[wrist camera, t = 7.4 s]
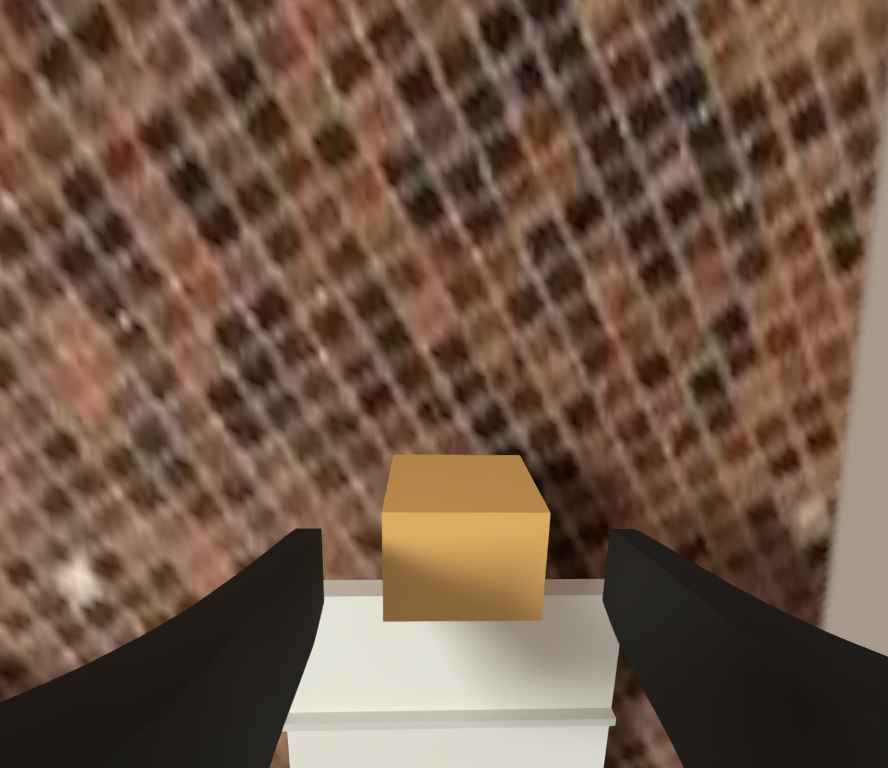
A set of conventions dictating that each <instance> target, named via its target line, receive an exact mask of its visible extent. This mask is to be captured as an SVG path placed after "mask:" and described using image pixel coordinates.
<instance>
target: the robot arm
mask: <svg viewBox="0 0 888 768" xmlns="http://www.w3.org/2000/svg"><path fill="white" fill-rule="evenodd" d="M602 601H603V604H604V607H605V610H606V612H607V615H608V618H609V621H610V623H611V626H612V628H613V631H614V633H615V636H616V638H617V641H618V643H619V645H620V647H621V648H622V650H623V652H624V654H625V656H626V658H627V660H628V662H629V664H630V666H631V668H632V669H633V671H634V673H635V675H636V677H637V679H638V681H639V682H640V684H641V686H642V688H643V690H644V692H645V694H646V695H647V697H648V699H649V701H650V703H651V705H652V707H653V708H654V710H655V712H656V714H657V716H658V718H659V720H660V721H661V723H662V725H663V727H664V729H665V731H666V733H667V734H668V736H669V738H670V740H671V742H672V744H673V746H674V748H675V750H676V752H677V754H678V756H679V758H680V760H681V762H682V765H683V767H684V768H888V657H887V656H885V655H882V654H880V653H877V652H875V651H872V650H869V649H867V648H865V647H862V646H860V645H857V644H855V643H852V642H850V641H847V640H845V639H842V638H840V637H838V636H835V635H833V634H831V633H828V632H826V631H824V630H821V629H819V628H817V627H815V626H813V625H811V624H809V623H806V622H804V621H802V620H800V619H798V618H796V617H793V616H791V615H789V614H787V613H785V612H783V611H781V610H779V609H777V608H775V607H773V606H771V605H769V604H767V603H765V602H763V601H761V600H759V599H757V598H755V597H753V596H752V595H750V594H748V593H746V592H744V591H742V590H740V589H738V588H737V587H735V586H733V585H731V584H729V583H728V582H726V581H724V580H722V579H720V578H719V577H717V576H715V575H713V574H712V573H710V572H708V571H706V570H705V569H703V568H701V567H700V566H698V565H696V564H695V563H693V562H691V561H690V560H688V559H686V558H684V557H683V556H681V555H679V554H678V553H676V552H674V551H673V550H671V549H669V548H668V547H666V546H664V545H663V544H661V543H659V542H657V541H656V540H654V539H652V538H650V537H649V536H647V535H645V534H643V533H641V532H639V531H637V530H635V529H610V536H609V545H608V554H607V562H606V571H605V580H604V588H603V597H602ZM323 605H324V582H323V559H322V536H321V529H295V530H293V531H292V532H291V533H289V534H288V535H287V536H285V537H284V538H283V539H282V540H280V541H279V542H278V543H277V544H275V545H274V546H273V547H272V548H270V549H269V550H268V551H267V552H265V553H264V554H263V555H262V556H260V557H259V558H258V559H256V560H255V561H254V562H253V563H251V564H250V565H249V566H247V567H246V568H245V569H244V570H242V571H241V572H240V573H238V574H237V575H236V576H234V577H233V578H231V579H230V580H229V581H227V582H226V583H224V584H223V585H221V586H220V587H219V588H217V589H216V590H214V591H213V592H212V593H210V594H209V595H207V596H206V597H204V598H203V599H202V600H200V601H199V602H197V603H196V604H194V605H193V606H191V607H190V608H188V609H186V610H185V611H183V612H182V613H180V614H178V615H177V616H175V617H173V618H172V619H170V620H168V621H167V622H165V623H163V624H162V625H160V626H158V627H157V628H155V629H153V630H151V631H150V632H148V633H146V634H144V635H143V636H141V637H139V638H137V639H135V640H133V641H131V642H129V643H127V644H125V645H123V646H121V647H119V648H117V649H116V650H114V651H112V652H110V653H108V654H106V655H104V656H102V657H100V658H98V659H96V660H94V661H92V662H90V663H88V664H86V665H84V666H82V667H80V668H78V669H76V670H74V671H71V672H69V673H67V674H65V675H63V676H60V677H58V678H56V679H54V680H52V681H50V682H47V683H45V684H43V685H40V686H38V687H36V688H33V689H31V690H29V691H26V692H24V693H22V694H19V695H17V696H15V697H12V698H10V699H7V700H5V701H2V702H0V768H269V767H270V764H271V761H272V758H273V755H274V752H275V749H276V746H277V743H278V741H279V738H280V735H281V732H282V730H283V727H284V724H285V722H286V719H287V716H288V714H289V711H290V708H291V705H292V703H293V700H294V697H295V695H296V692H297V689H298V687H299V684H300V681H301V679H302V676H303V673H304V670H305V668H306V665H307V662H308V659H309V657H310V654H311V651H312V648H313V645H314V643H315V639H316V635H317V630H318V626H319V622H320V618H321V614H322V609H323Z"/></svg>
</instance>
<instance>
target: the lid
mask: <svg viewBox="0 0 888 768" xmlns="http://www.w3.org/2000/svg"><path fill="white" fill-rule="evenodd" d="M549 525H550V511H549V509H548V507H547V505H546V503H545V502H544V500H543V498H542V496H541V494H540V492H539V490H538V488H537V487H536V485H535V483H534V481H533V479H532V477H531V475H530V474H529V472H528V470H527V468H526V466H525V464H524V462H523V460H522V459H521V457H520V455H393V460H392V465H391V470H390V475H389V480H388V485H387V490H386V495H385V500H384V505H383V509H382V572H383V580H323V582H324V605H323V609H322V614H321V618H320V622H319V626H318V630H317V635H316V639H315V643H314V645H313V648H312V651H311V654H310V657H309V659H308V662H307V665H306V668H305V670H304V673H303V676H302V679H301V681H300V684H299V687H298V689H297V692H296V695H295V697H294V700H293V703H292V705H291V708H290V711H289V714H288V716H287V719H286V722H285V724H284V727H283V731H287V732H288V746H289V760H290V768H603V767H604V760H605V752H606V745H607V737H608V729H609V726H615V723H616V717H615V715H614V713H613V710H612V708H611V706H612V699H613V691H614V683H615V676H616V668H617V660H618V653H619V643H618V641H617V638H616V636H615V633H614V631H613V628H612V626H611V623H610V621H609V618H608V615H607V612H606V610H605V607H604V604H603V601H602V597H603V588H604V580H605V579H545V573H546V561H547V549H548V537H549Z"/></svg>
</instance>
